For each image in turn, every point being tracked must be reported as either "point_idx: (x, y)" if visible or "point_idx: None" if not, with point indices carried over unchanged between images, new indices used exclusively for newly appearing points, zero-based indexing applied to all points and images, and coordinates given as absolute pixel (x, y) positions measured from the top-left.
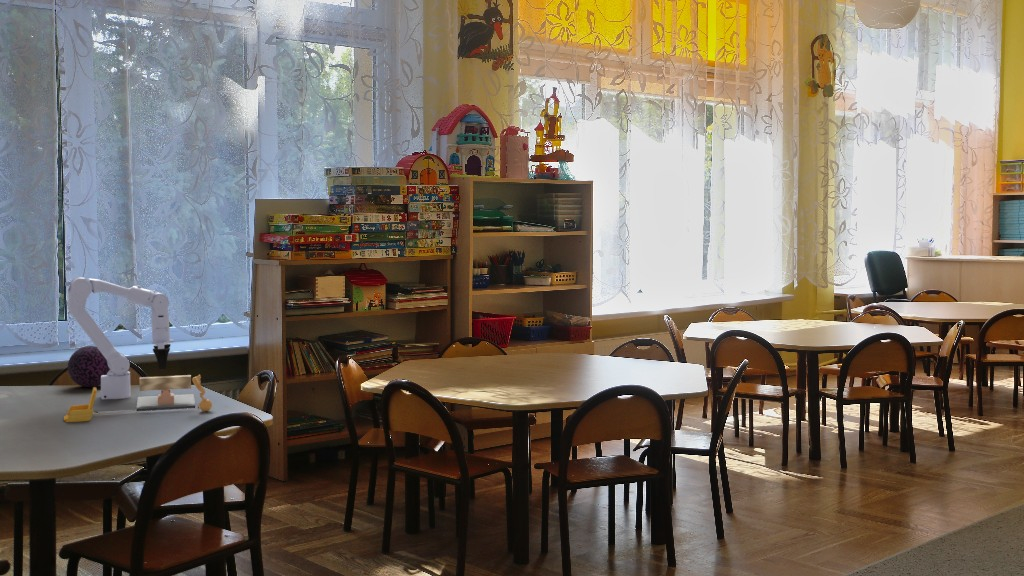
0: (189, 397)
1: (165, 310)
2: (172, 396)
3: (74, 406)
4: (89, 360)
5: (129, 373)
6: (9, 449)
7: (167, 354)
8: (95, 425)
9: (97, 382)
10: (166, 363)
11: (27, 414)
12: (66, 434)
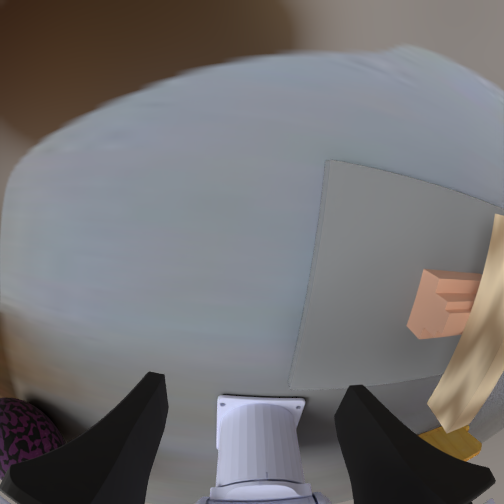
0: (411, 198)
1: None
2: None
3: None
4: None
5: (281, 482)
6: (499, 430)
7: (451, 459)
8: (489, 399)
9: (52, 426)
10: (386, 409)
11: (333, 496)
12: (497, 412)
